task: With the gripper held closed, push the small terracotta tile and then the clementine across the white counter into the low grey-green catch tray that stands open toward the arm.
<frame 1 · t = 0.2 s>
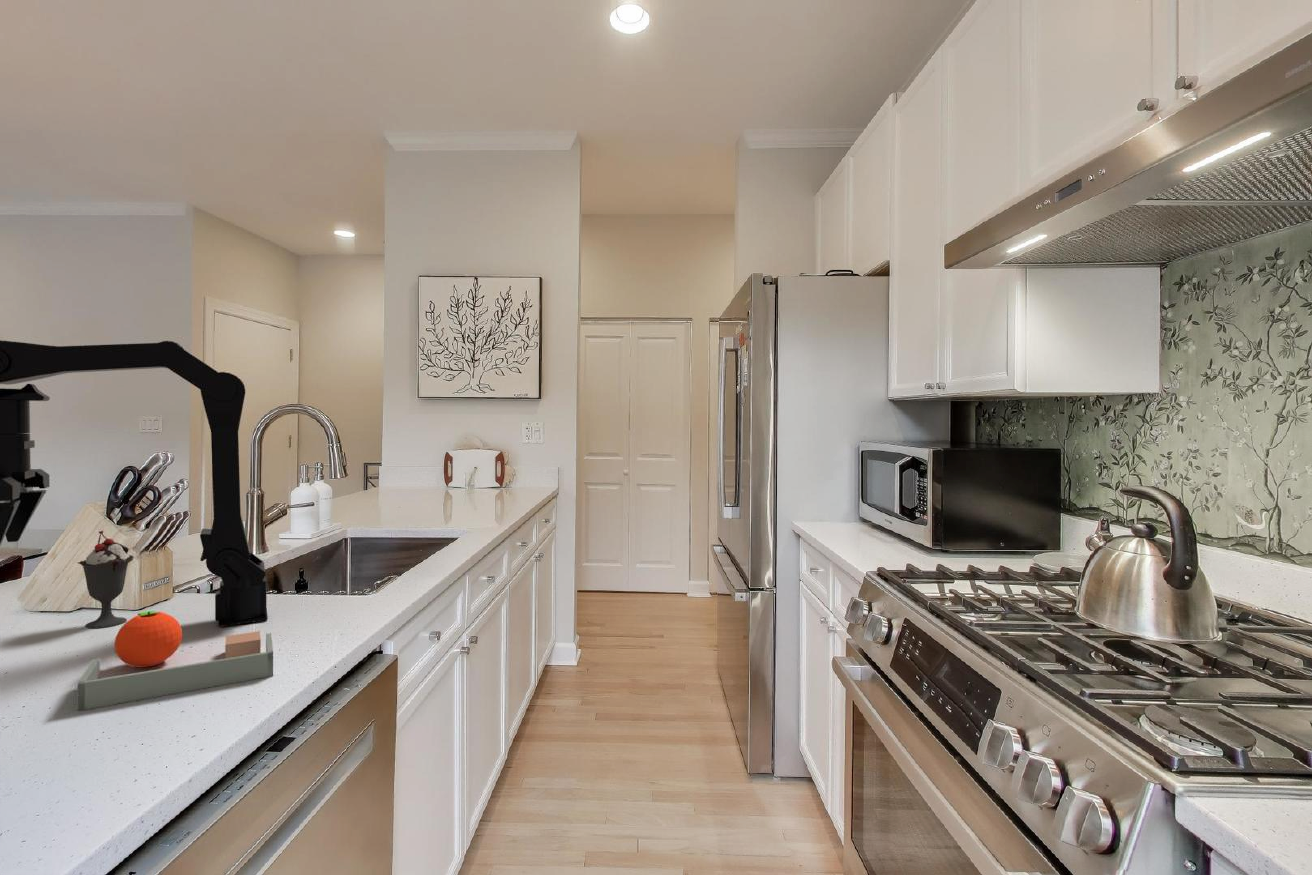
hand: (2, 547, 85), 14 cm above the worktop, fingers open, 9 cm apart
tile: (243, 655, 86), on the worktop
clementine: (147, 665, 82), on the worktop
sundae: (106, 624, 98), on the worktop
catch tray: (185, 679, 78), on the worktop
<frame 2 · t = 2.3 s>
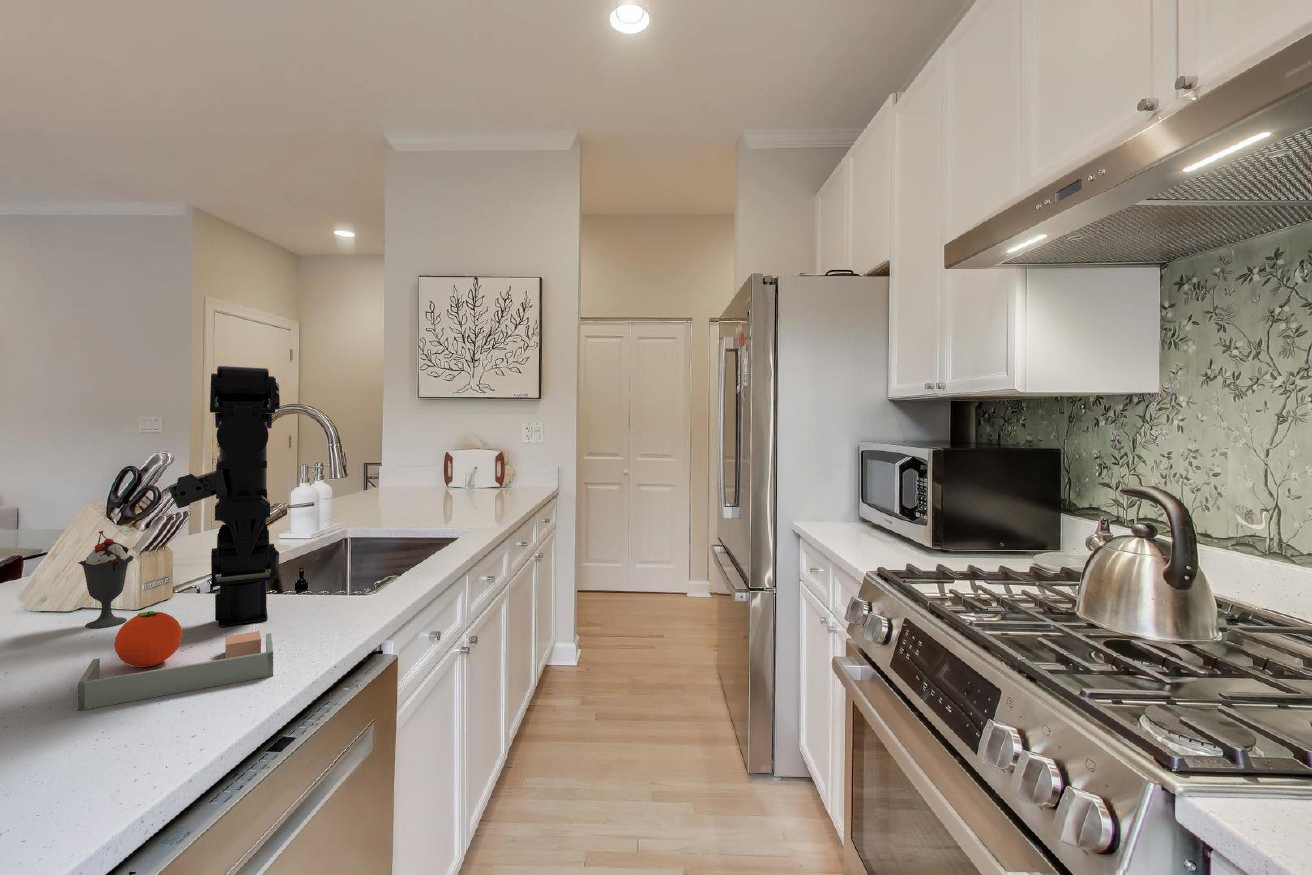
hand: (243, 560, 90), 12 cm above the worktop, fingers closed
nothing on the worktop moved.
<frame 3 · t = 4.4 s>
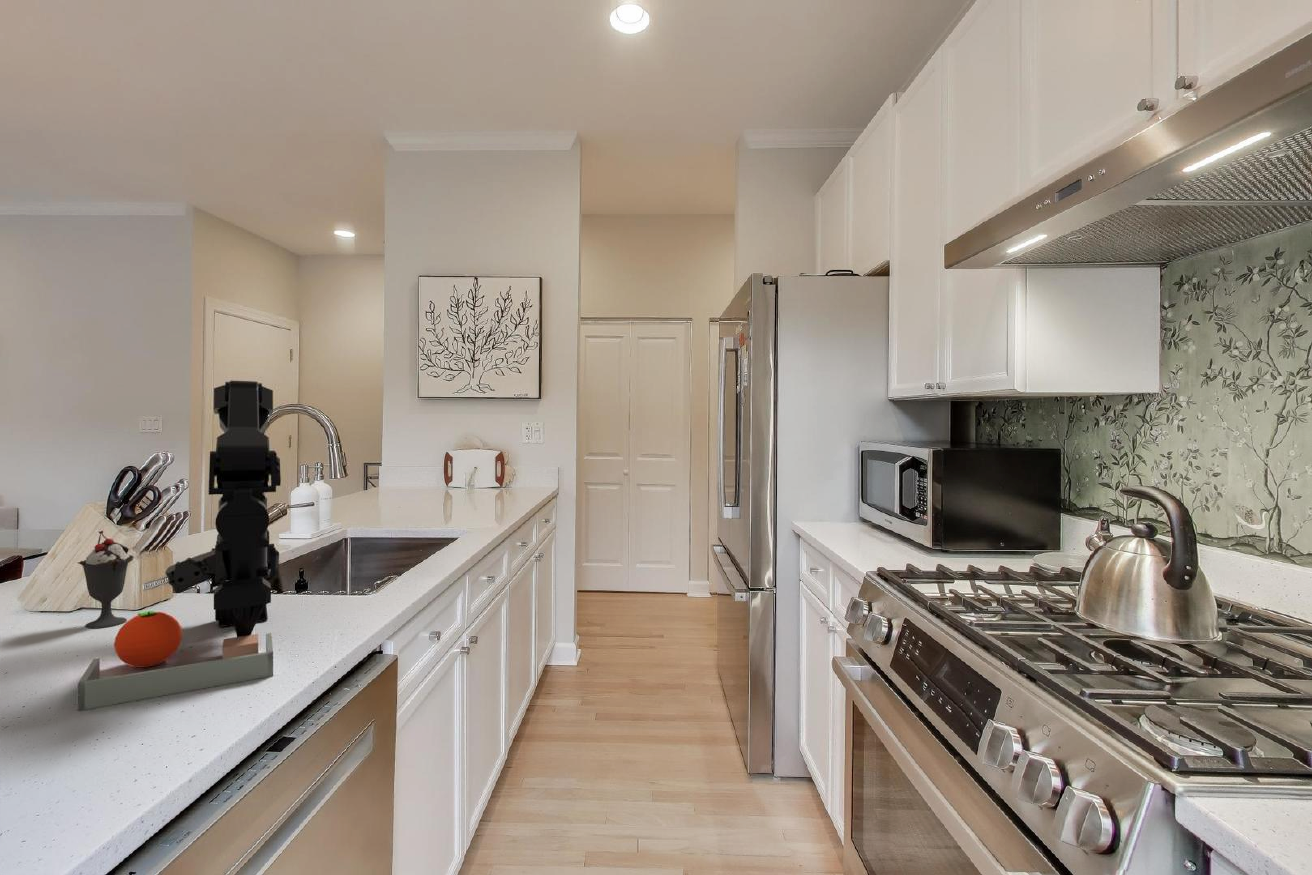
hand: (243, 641, 88), 1 cm above the worktop, fingers closed
tile: (240, 658, 85), on the worktop, touching gripper
everything else where it was.
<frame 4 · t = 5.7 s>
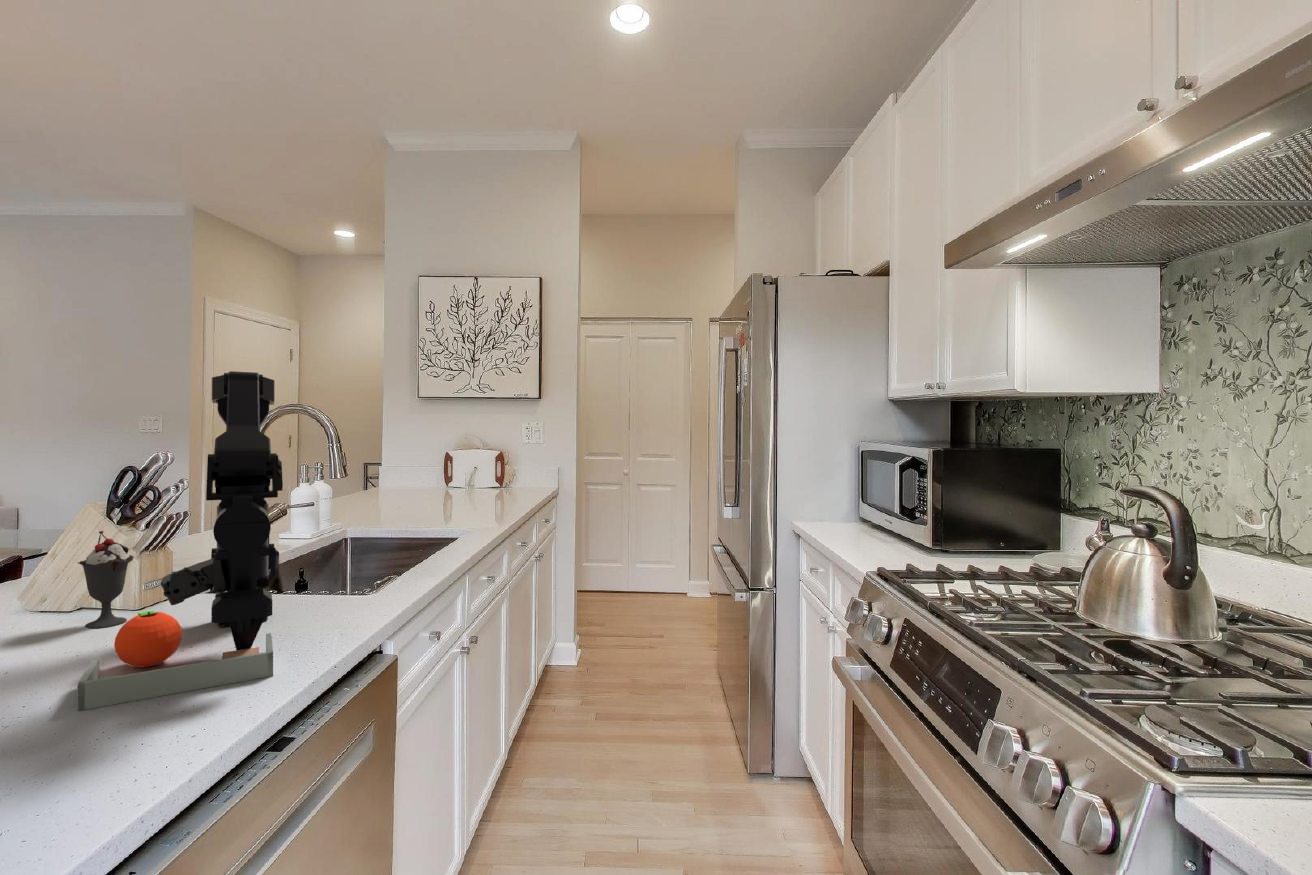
hand: (242, 655, 83), 1 cm above the worktop, fingers closed
tile: (240, 673, 80), on the worktop
everything else where it was.
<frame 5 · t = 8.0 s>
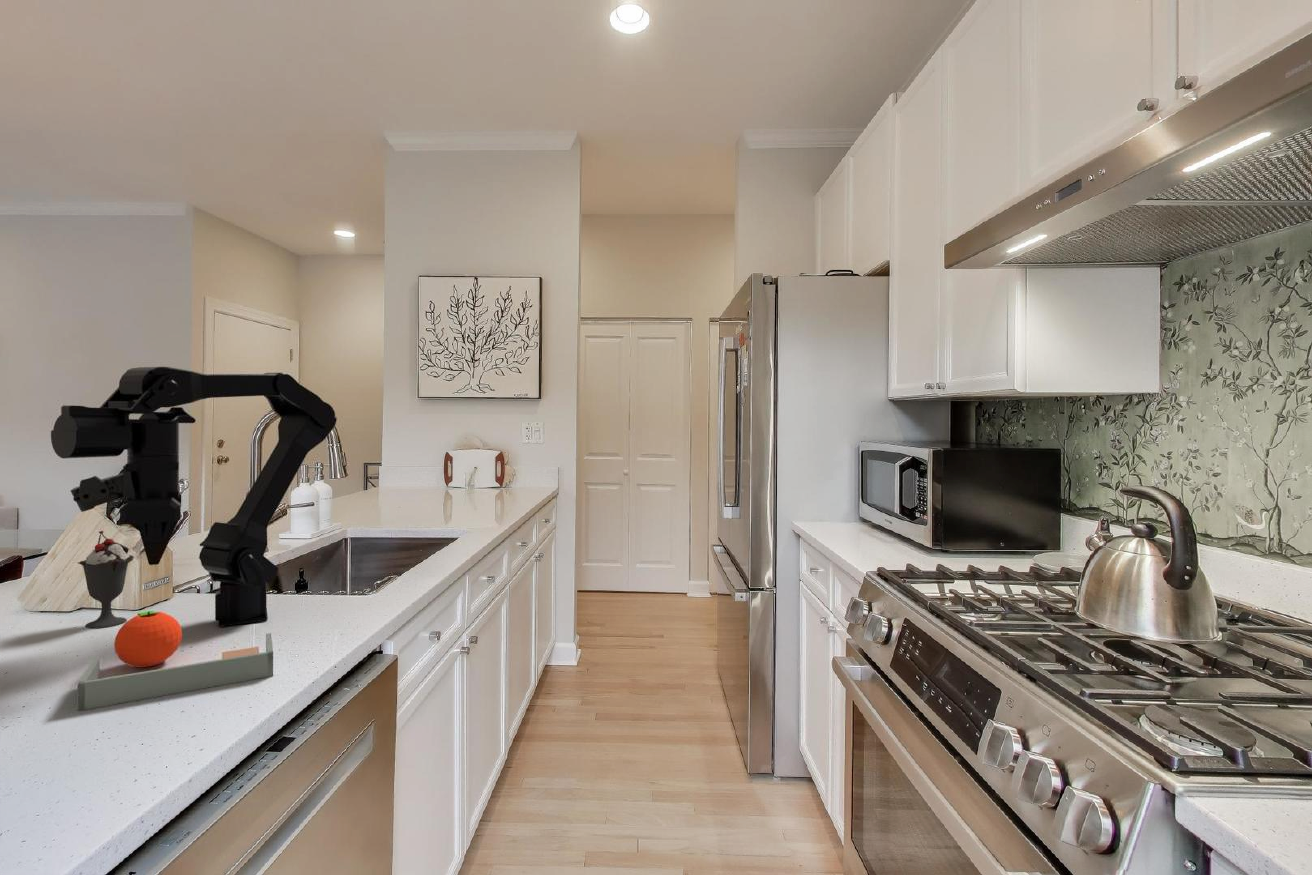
hand: (153, 564, 89), 12 cm above the worktop, fingers closed
nothing on the worktop moved.
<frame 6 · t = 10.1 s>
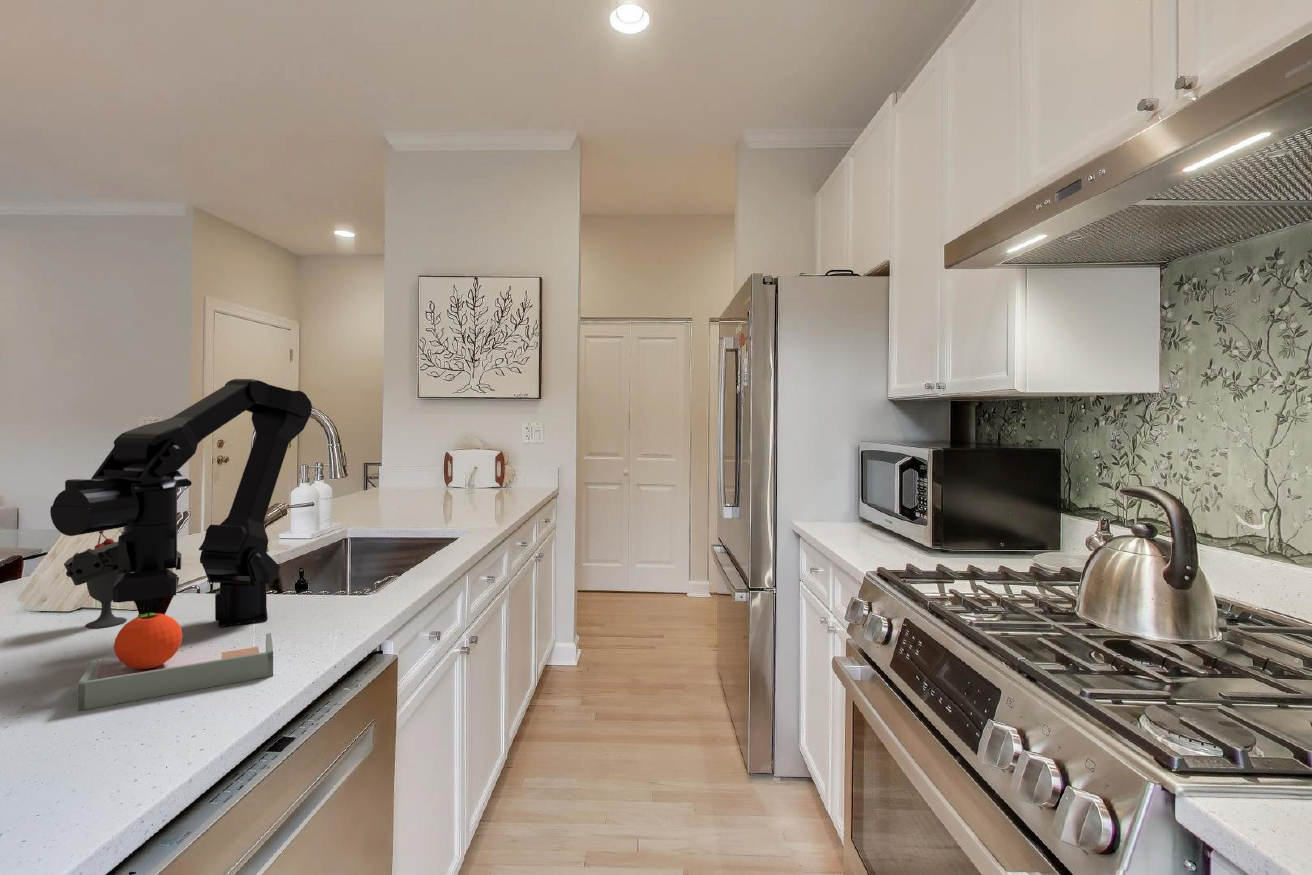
hand: (150, 634, 86), 3 cm above the worktop, fingers closed
clementine: (147, 667, 81), on the worktop, touching gripper
everything else where it was.
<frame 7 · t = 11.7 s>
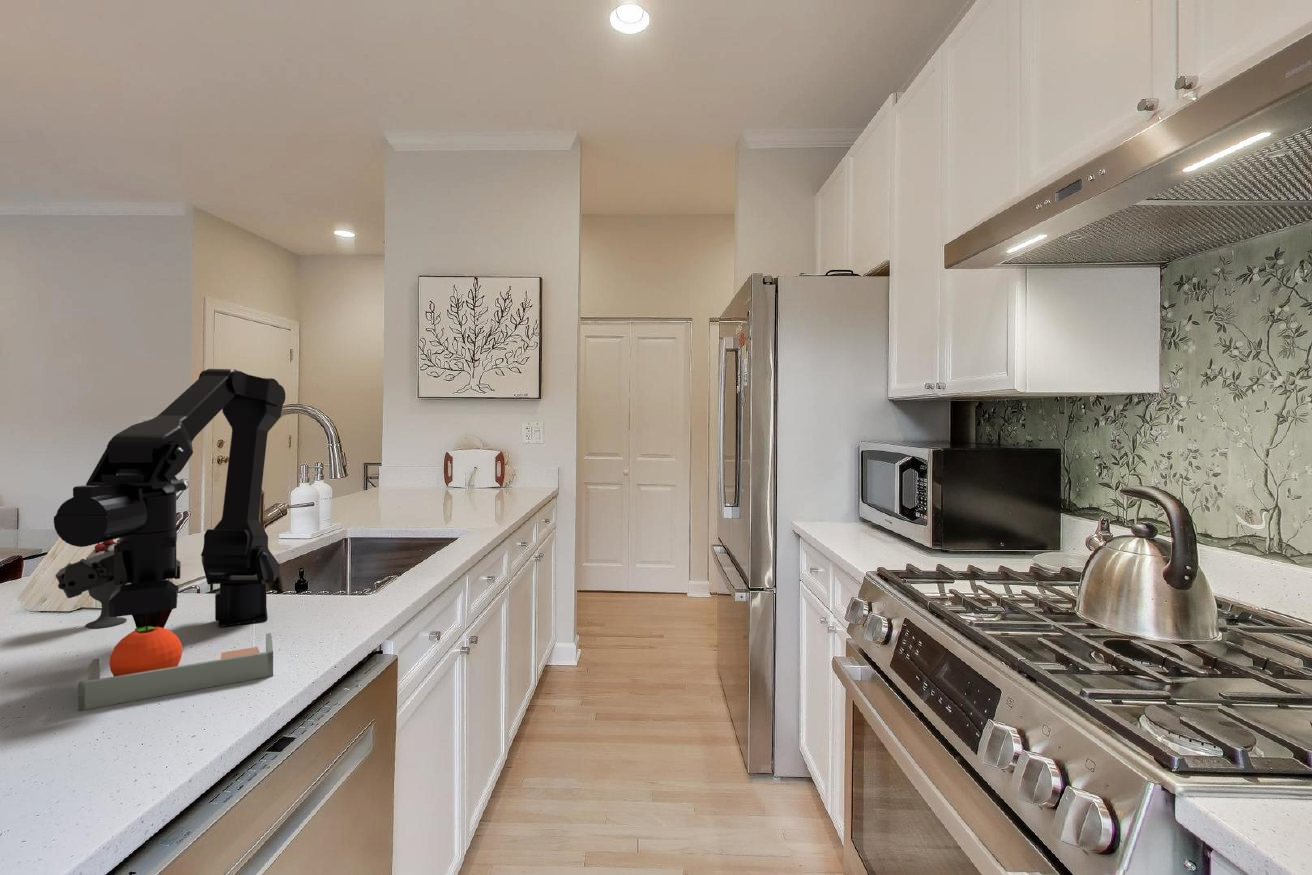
hand: (149, 649, 80), 3 cm above the worktop, fingers closed
clementine: (145, 684, 76), on the worktop, touching gripper
everything else where it was.
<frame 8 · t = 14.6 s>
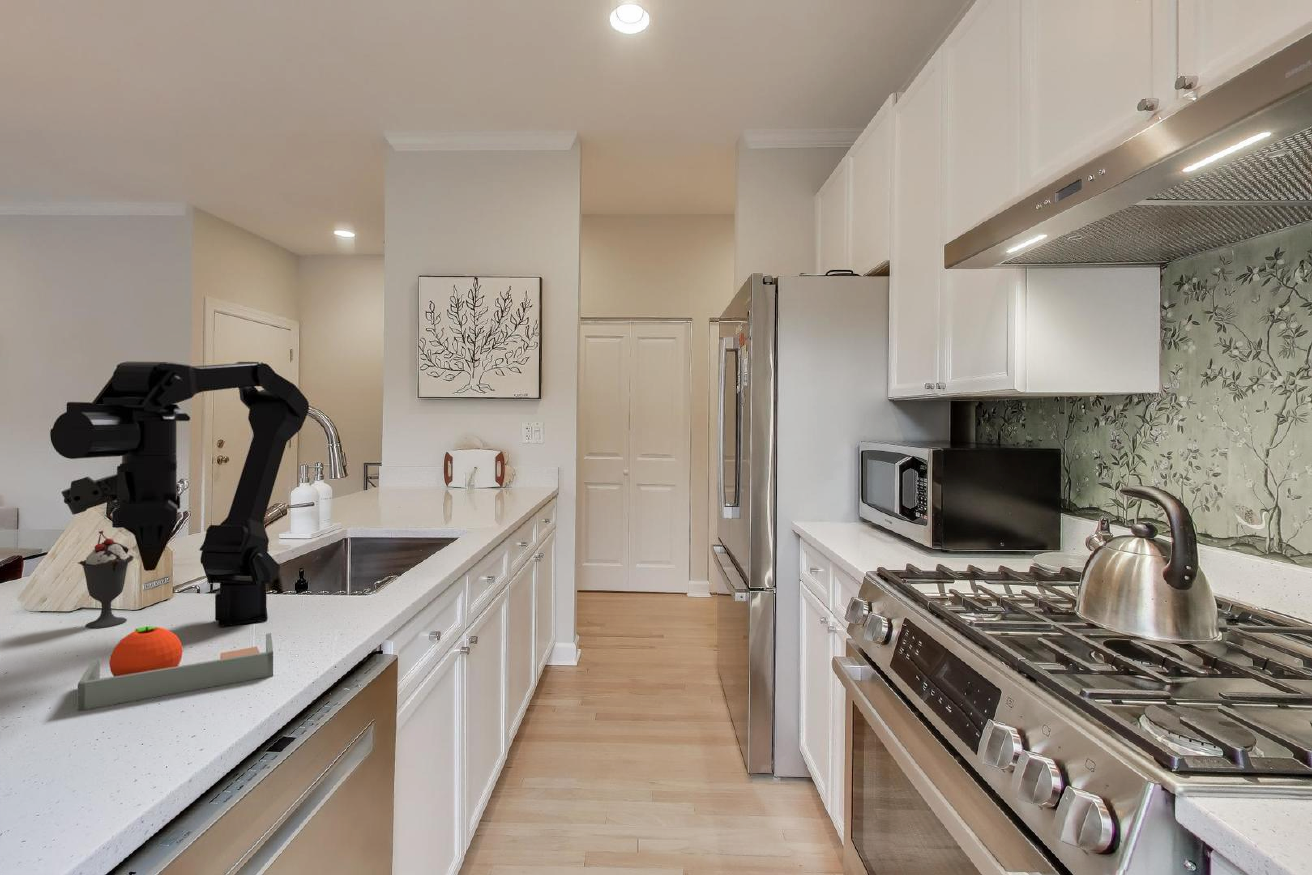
hand: (149, 570, 84), 12 cm above the worktop, fingers closed
clementine: (145, 685, 76), on the worktop
everything else where it was.
at the end: clementine inside the target area (4.0 cm from its centre), on the worktop; tile inside the target area (5.8 cm from its centre), on the worktop; clementine touching worktop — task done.
